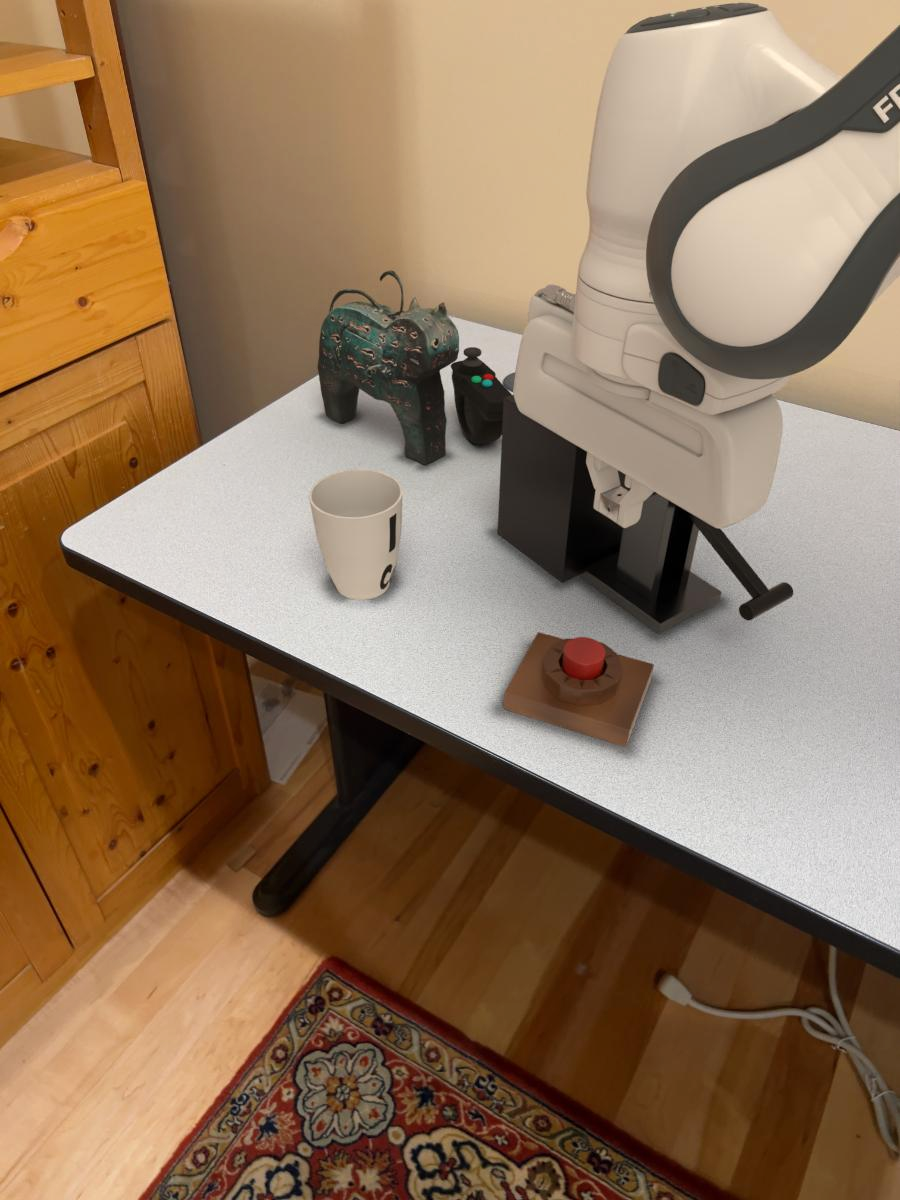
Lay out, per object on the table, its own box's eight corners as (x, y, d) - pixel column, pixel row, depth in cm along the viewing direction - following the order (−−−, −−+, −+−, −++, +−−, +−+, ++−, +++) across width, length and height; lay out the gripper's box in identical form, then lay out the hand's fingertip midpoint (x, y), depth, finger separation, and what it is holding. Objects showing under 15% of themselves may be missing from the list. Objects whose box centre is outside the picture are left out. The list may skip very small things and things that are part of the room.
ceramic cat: (462, 457, 102) (465, 283, 89) (423, 478, 98) (420, 300, 85) (348, 403, 112) (336, 240, 100) (308, 420, 108) (291, 253, 96)
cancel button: (607, 659, 70) (610, 643, 69) (596, 685, 68) (598, 668, 67) (569, 648, 71) (571, 632, 70) (556, 673, 69) (558, 657, 68)
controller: (478, 416, 110) (480, 338, 103) (519, 463, 101) (525, 381, 94) (445, 422, 108) (446, 343, 102) (485, 470, 99) (488, 387, 93)
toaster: (652, 541, 89) (677, 401, 79) (562, 583, 83) (577, 438, 74) (585, 497, 95) (601, 363, 85) (497, 533, 90) (503, 394, 80)
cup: (402, 611, 80) (399, 519, 74) (313, 610, 80) (302, 517, 74) (408, 558, 86) (405, 469, 80) (325, 557, 86) (315, 468, 80)
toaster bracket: (719, 602, 81) (752, 471, 72) (658, 634, 78) (685, 501, 69) (641, 550, 87) (663, 424, 79) (581, 578, 84) (597, 449, 75)
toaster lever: (783, 604, 73) (800, 589, 71) (743, 626, 71) (759, 612, 69) (674, 466, 78) (687, 449, 76) (633, 483, 75) (645, 466, 73)
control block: (650, 680, 73) (657, 649, 71) (626, 747, 67) (632, 715, 65) (536, 648, 76) (539, 617, 74) (503, 709, 70) (505, 677, 68)
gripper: (497, 285, 58) (489, 467, 67) (745, 400, 46) (695, 607, 54) (568, 267, 61) (551, 444, 70) (819, 370, 48) (760, 571, 57)
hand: (616, 516), depth 62 cm, fingers closed
